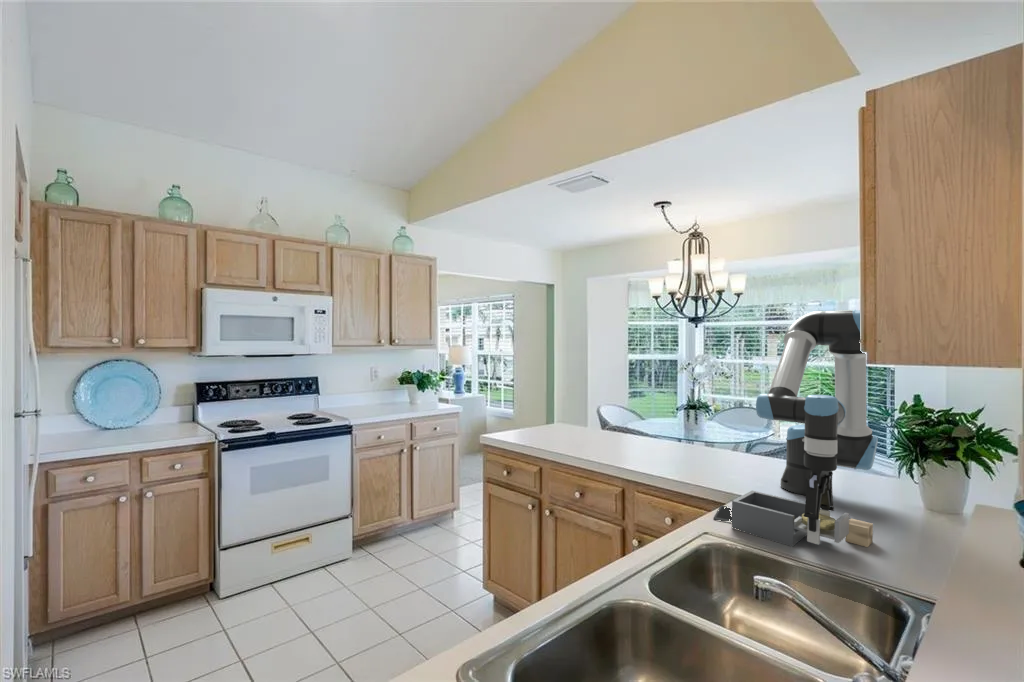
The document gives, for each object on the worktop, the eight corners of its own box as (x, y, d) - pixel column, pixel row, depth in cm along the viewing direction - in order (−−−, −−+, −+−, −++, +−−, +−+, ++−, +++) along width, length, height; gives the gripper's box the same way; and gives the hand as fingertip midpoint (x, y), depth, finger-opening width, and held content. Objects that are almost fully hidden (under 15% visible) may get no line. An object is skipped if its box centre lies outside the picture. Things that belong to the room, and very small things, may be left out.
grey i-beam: (791, 518, 142) (791, 500, 142) (848, 533, 131) (849, 513, 131) (779, 527, 136) (779, 507, 135) (838, 543, 125) (839, 522, 125)
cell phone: (712, 520, 149) (712, 518, 149) (720, 507, 161) (720, 504, 161) (739, 526, 145) (739, 523, 145) (745, 511, 157) (745, 509, 157)
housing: (751, 516, 152) (752, 490, 152) (809, 532, 140) (810, 504, 140) (731, 528, 143) (732, 500, 143) (792, 546, 131) (792, 516, 131)
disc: (840, 524, 132) (840, 518, 132) (831, 532, 127) (831, 526, 127) (807, 516, 138) (807, 510, 138) (797, 523, 133) (797, 517, 133)
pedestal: (850, 536, 138) (851, 518, 138) (872, 541, 134) (872, 523, 134) (845, 541, 134) (846, 523, 134) (867, 547, 131) (868, 528, 131)
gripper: (816, 445, 142) (815, 523, 142) (791, 457, 128) (789, 544, 128) (847, 449, 136) (845, 531, 137) (824, 463, 122) (822, 554, 123)
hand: (818, 538), depth 133 cm, fingers closed on disc, 8 cm apart
